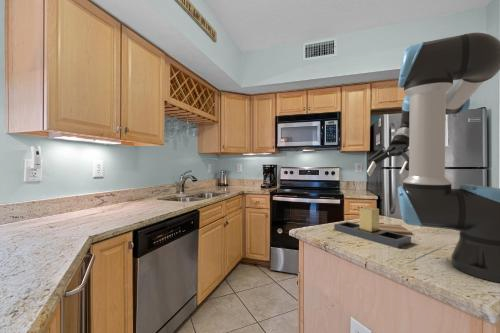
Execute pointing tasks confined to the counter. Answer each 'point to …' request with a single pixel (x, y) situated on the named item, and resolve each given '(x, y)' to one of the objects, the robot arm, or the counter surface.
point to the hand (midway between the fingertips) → (384, 174)
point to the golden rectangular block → (369, 219)
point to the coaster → (395, 229)
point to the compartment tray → (374, 235)
